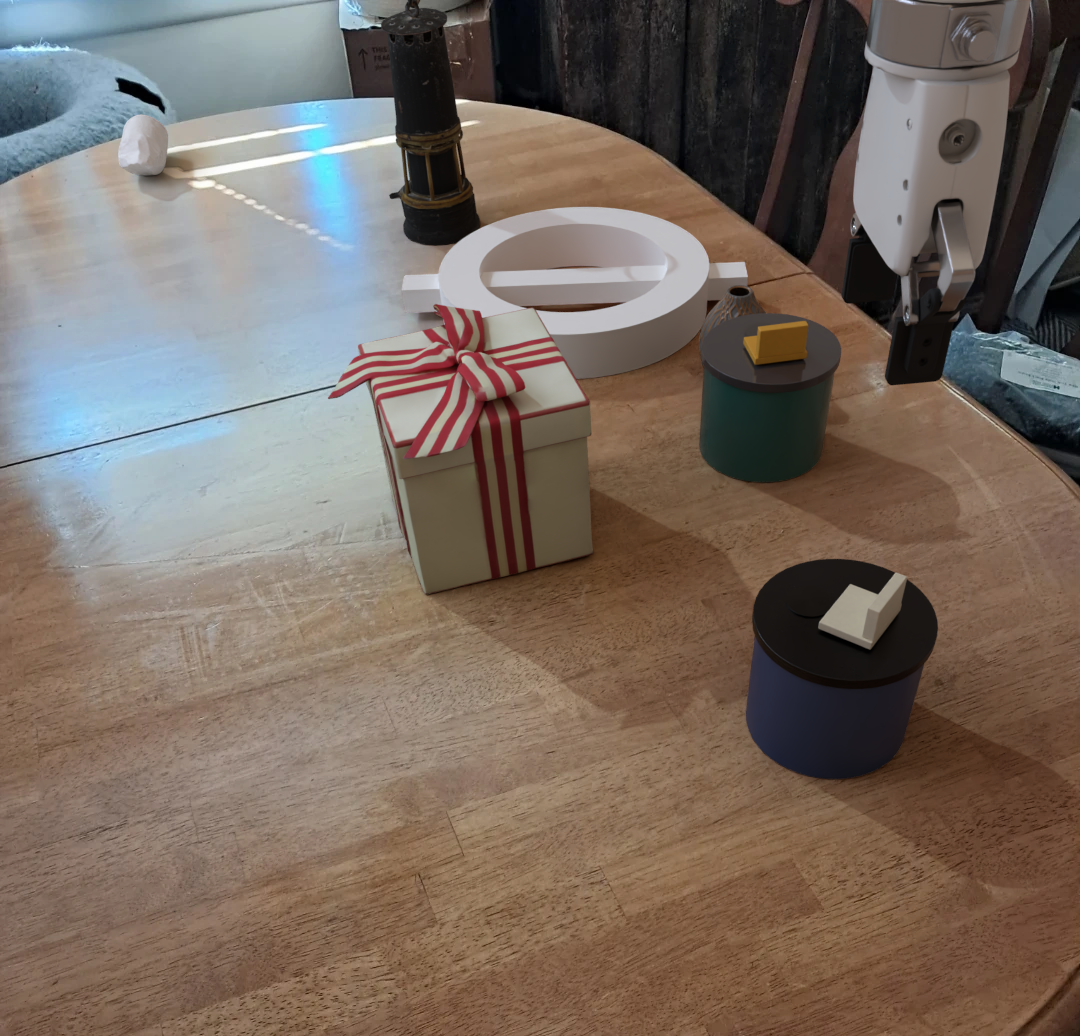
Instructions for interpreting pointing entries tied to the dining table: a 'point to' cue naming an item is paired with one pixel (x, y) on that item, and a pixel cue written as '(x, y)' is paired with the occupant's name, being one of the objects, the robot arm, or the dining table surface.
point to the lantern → (428, 130)
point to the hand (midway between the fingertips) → (888, 338)
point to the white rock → (143, 146)
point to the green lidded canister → (765, 402)
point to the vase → (730, 309)
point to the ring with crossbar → (585, 282)
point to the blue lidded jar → (833, 672)
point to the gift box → (480, 445)
